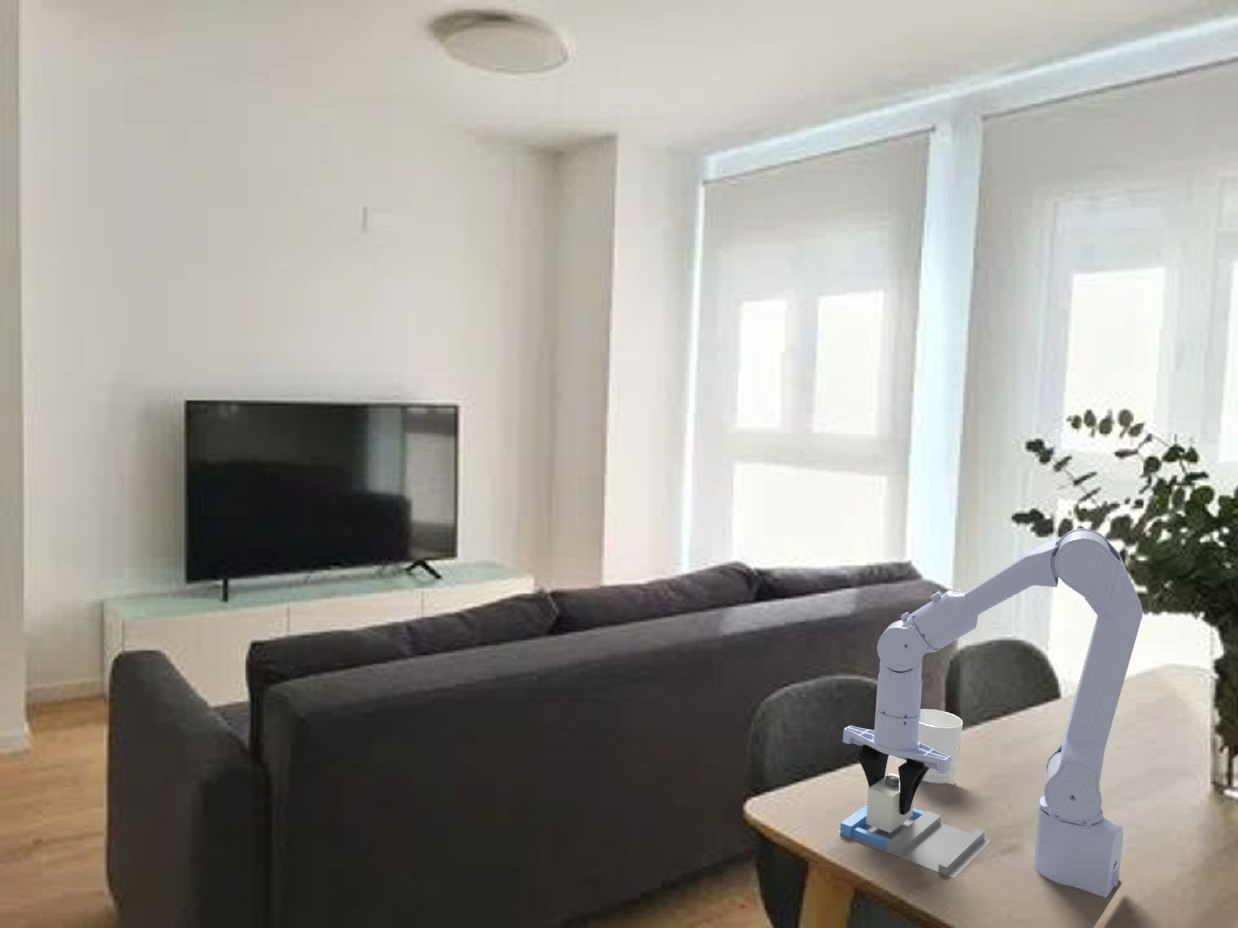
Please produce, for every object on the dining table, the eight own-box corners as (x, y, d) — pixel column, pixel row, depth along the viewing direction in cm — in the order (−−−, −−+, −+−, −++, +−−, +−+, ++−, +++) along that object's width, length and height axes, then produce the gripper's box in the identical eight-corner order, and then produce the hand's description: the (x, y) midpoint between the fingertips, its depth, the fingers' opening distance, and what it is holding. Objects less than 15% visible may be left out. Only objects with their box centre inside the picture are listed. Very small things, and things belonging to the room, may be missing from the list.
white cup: (923, 793, 140) (928, 729, 139) (895, 770, 147) (899, 710, 147) (968, 788, 142) (973, 725, 141) (938, 767, 150) (942, 707, 149)
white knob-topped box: (912, 815, 128) (915, 774, 127) (890, 832, 123) (893, 790, 122) (888, 806, 130) (891, 766, 130) (865, 823, 125) (868, 781, 124)
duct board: (991, 847, 124) (992, 829, 124) (953, 885, 114) (954, 866, 114) (879, 807, 134) (880, 791, 134) (836, 839, 125) (837, 821, 124)
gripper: (962, 717, 123) (954, 815, 125) (862, 689, 133) (855, 780, 134) (941, 731, 118) (933, 833, 119) (838, 701, 127) (832, 796, 129)
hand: (890, 806), depth 126 cm, fingers closed on white knob-topped box, 3 cm apart
